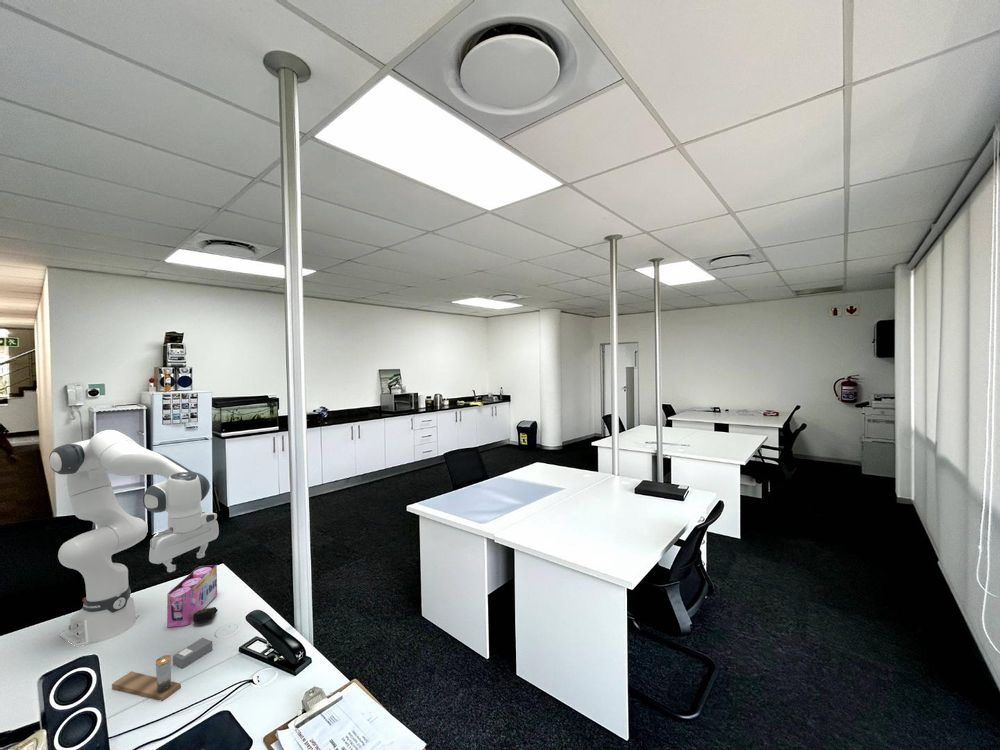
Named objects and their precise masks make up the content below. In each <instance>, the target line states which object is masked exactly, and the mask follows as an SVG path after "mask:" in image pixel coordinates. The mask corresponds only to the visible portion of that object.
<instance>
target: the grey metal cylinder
mask: <svg viewBox="0 0 1000 750" xmlns="http://www.w3.org/2000/svg"><path fill="white" fill-rule="evenodd" d="M171 659H172V655H171V654H165V655H162V656H160V657H158V658H157V659H156V660H155V668H156V669H155V670H156V673H155V674H156V676H155V677H156V678H157V692H158V693H161V692H164V691H166V690H168V689H169V688H170V687H171V681H172V665H171V664H172V663H171Z"/></svg>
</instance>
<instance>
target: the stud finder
mask: <svg viewBox="0 0 1000 750" xmlns="http://www.w3.org/2000/svg"><path fill="white" fill-rule="evenodd" d="M212 651H213V640H210V639H207V638H205V637H201V638H200V639H198V640H196V641H195V642H193V643H191V644H190V645H188V646H187V647H185V648H183V649H181V650H179V651H178V652H176V653H175V654H173V655H172V666H174V667H177V668H180V669H182V670H183V669H185V668H187V667H188V666H189V665H191V664H193V663H195V662H196V661H197V660H200V659H201V658H202V657H204V656H206V655H207V654H209V653H211V652H212Z"/></svg>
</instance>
